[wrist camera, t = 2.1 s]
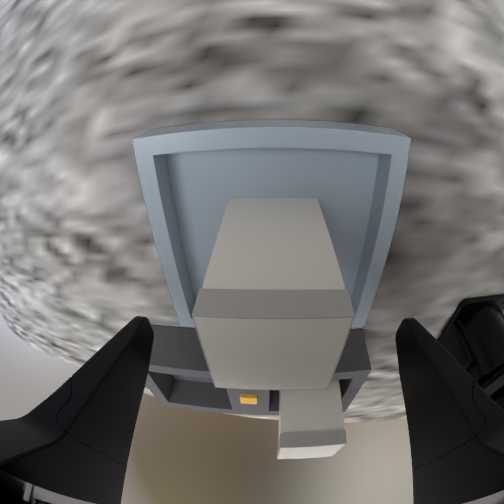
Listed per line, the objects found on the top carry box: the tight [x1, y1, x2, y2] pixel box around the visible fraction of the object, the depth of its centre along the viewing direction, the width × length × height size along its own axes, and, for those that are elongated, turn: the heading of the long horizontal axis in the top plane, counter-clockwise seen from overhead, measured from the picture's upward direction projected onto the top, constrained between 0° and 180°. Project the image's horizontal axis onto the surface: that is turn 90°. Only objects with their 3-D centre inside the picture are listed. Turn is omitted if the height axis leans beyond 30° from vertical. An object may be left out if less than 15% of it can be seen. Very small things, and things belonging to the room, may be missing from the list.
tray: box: [132, 120, 411, 328], centre depth 13 cm, size 11×11×2 cm
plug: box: [192, 198, 355, 390], centre depth 11 cm, size 4×4×7 cm
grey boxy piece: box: [146, 325, 371, 459], centre depth 18 cm, size 16×8×8 cm, turn 92°
